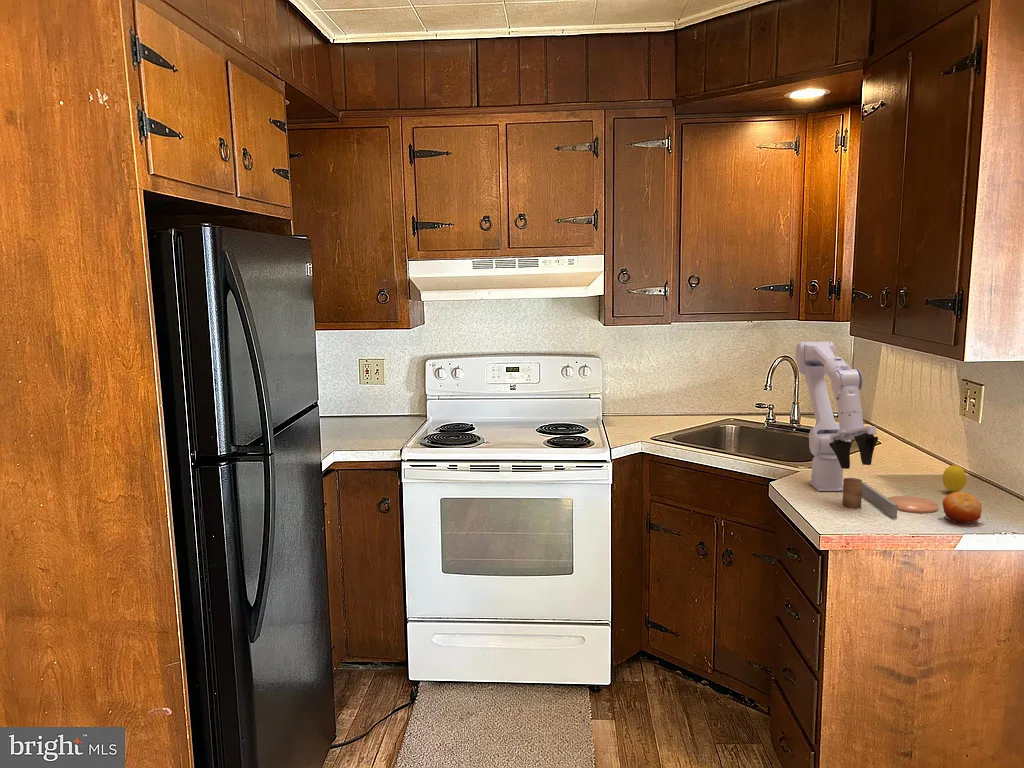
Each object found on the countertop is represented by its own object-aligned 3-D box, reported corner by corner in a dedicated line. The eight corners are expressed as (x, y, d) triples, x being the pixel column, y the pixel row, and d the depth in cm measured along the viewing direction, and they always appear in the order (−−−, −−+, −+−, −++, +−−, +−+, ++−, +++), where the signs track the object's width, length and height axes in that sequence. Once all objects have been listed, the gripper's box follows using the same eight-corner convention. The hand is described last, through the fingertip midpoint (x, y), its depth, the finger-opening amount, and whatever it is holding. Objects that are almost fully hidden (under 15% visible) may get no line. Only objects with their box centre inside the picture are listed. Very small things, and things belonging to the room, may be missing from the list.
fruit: (961, 507, 183) (974, 485, 178) (978, 532, 177) (992, 510, 172) (929, 508, 183) (941, 486, 178) (945, 533, 177) (958, 511, 172)
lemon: (943, 489, 203) (945, 460, 202) (966, 492, 200) (968, 463, 199) (939, 493, 199) (941, 465, 198) (963, 497, 196) (965, 468, 195)
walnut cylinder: (839, 503, 193) (840, 477, 192) (857, 503, 193) (858, 477, 192) (846, 509, 189) (847, 482, 188) (863, 508, 189) (865, 482, 188)
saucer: (877, 499, 196) (877, 496, 196) (924, 498, 195) (924, 495, 195) (897, 513, 184) (898, 510, 184) (947, 513, 184) (947, 510, 183)
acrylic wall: (860, 494, 200) (860, 482, 200) (863, 494, 200) (864, 482, 200) (892, 518, 181) (893, 504, 180) (896, 518, 181) (897, 504, 180)
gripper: (818, 418, 197) (823, 469, 193) (857, 408, 183) (863, 462, 180) (840, 420, 199) (846, 470, 195) (880, 409, 185) (887, 463, 182)
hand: (856, 466), depth 188 cm, fingers open, 7 cm apart
